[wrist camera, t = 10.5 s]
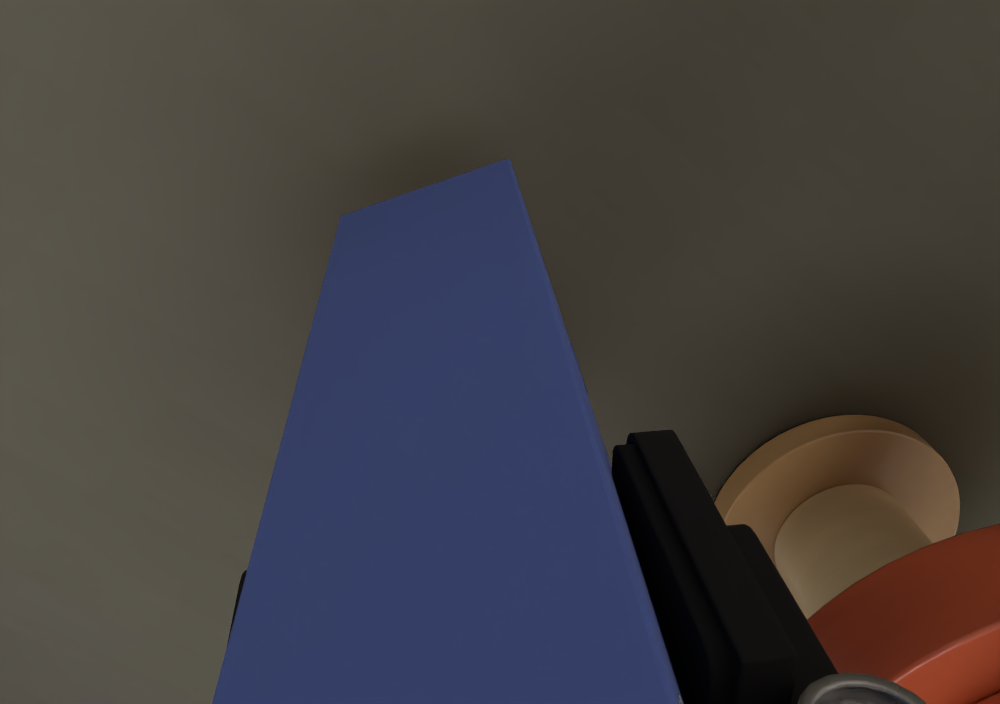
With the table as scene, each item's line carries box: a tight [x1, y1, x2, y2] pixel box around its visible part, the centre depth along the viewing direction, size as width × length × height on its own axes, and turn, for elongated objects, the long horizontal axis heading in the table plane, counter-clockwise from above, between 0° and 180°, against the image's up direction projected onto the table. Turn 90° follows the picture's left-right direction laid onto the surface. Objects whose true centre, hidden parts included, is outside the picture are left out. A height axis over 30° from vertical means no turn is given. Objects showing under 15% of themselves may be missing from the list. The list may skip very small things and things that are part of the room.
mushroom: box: [714, 415, 1000, 704], centre depth 18 cm, size 10×10×12 cm
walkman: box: [212, 159, 684, 704], centre depth 10 cm, size 8×3×12 cm, turn 18°
